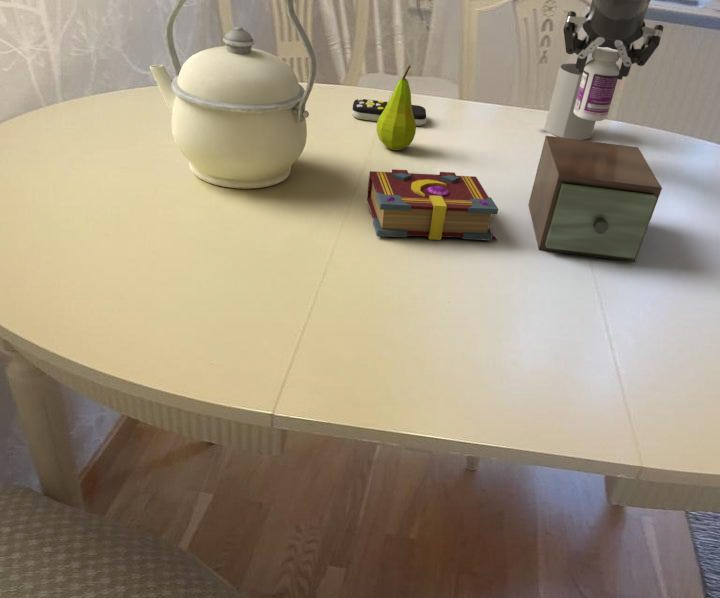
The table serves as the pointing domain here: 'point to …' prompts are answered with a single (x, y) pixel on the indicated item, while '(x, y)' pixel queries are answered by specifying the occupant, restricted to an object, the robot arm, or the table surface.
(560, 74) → the cup
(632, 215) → the drawer
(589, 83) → the pill bottle
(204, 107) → the kettle
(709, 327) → the table surface
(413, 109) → the remote control
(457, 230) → the decorative book
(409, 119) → the fruit
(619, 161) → the cabinet
